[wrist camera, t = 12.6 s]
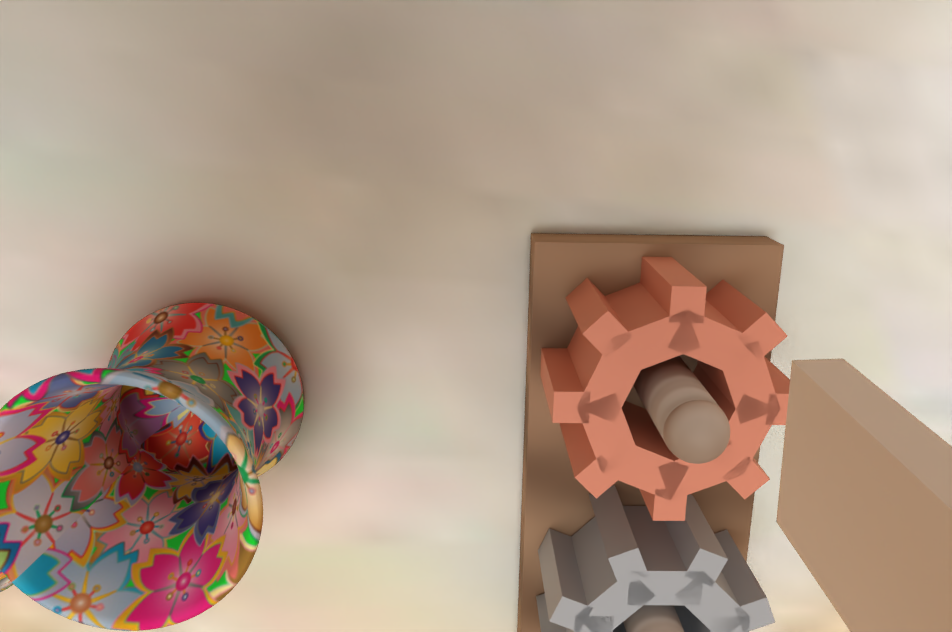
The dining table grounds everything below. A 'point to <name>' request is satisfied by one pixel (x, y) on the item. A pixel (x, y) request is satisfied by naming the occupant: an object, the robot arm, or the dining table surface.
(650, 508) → the red gear
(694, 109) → the dining table surface
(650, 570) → the gear
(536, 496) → the gear board
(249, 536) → the mug
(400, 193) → the dining table surface
